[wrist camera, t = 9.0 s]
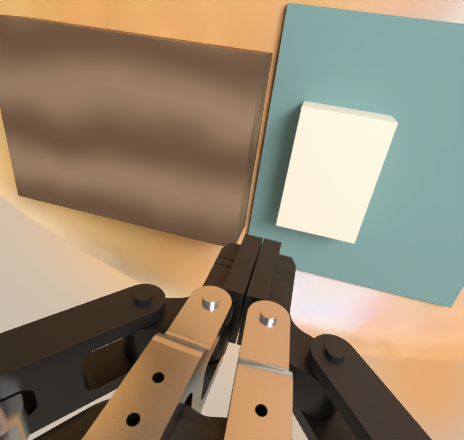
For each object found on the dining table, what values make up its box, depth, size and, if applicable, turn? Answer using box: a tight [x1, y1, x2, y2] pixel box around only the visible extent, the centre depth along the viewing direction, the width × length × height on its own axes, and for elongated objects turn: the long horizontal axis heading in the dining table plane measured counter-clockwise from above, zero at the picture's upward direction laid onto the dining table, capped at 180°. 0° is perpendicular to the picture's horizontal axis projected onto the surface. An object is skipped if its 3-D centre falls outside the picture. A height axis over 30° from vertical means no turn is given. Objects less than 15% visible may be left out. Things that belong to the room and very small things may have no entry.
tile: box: [276, 101, 398, 244], centre depth 25 cm, size 9×6×2 cm, turn 172°
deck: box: [0, 15, 273, 246], centre depth 27 cm, size 14×20×4 cm
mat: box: [248, 3, 464, 308], centre depth 25 cm, size 20×18×1 cm
